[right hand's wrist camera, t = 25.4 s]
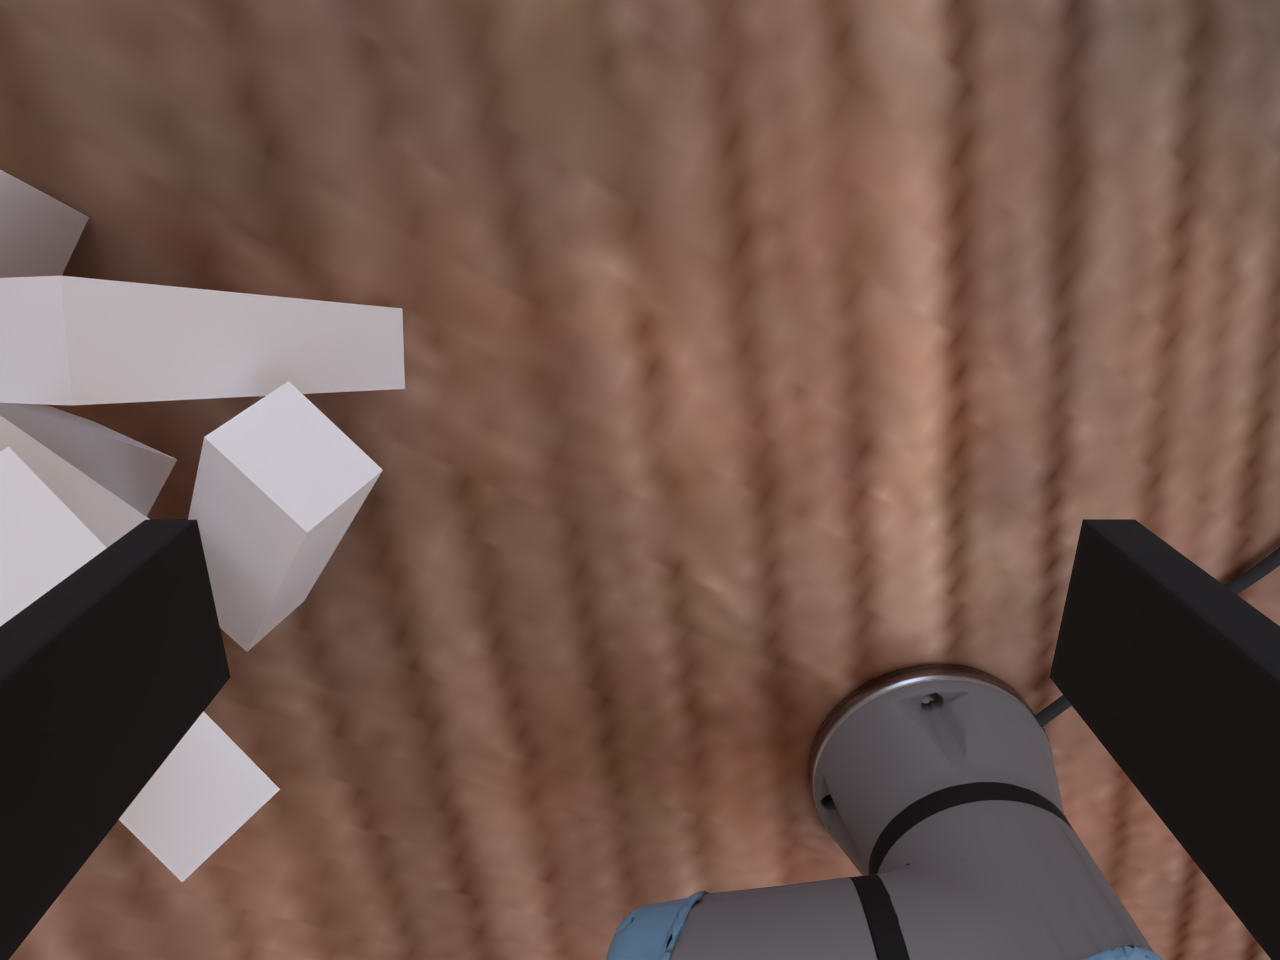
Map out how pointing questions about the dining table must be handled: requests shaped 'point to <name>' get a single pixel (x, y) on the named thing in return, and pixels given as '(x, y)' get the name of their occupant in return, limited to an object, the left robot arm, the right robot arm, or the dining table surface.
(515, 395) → the dining table surface
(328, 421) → the pile of blocks
